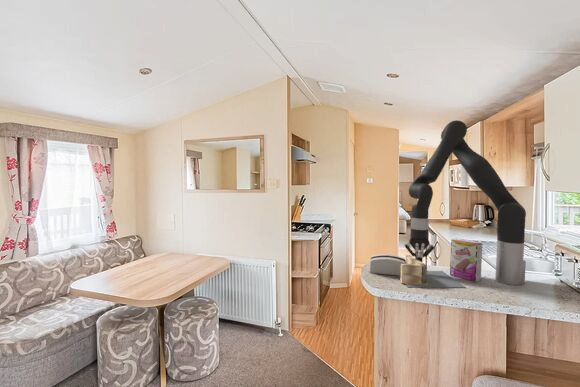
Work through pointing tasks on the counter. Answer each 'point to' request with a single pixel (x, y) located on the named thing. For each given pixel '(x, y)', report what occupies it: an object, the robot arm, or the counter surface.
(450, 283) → the mat
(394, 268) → the white plastic device
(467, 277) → the candy bar box
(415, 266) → the fence fixed
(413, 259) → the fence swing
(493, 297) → the counter surface
